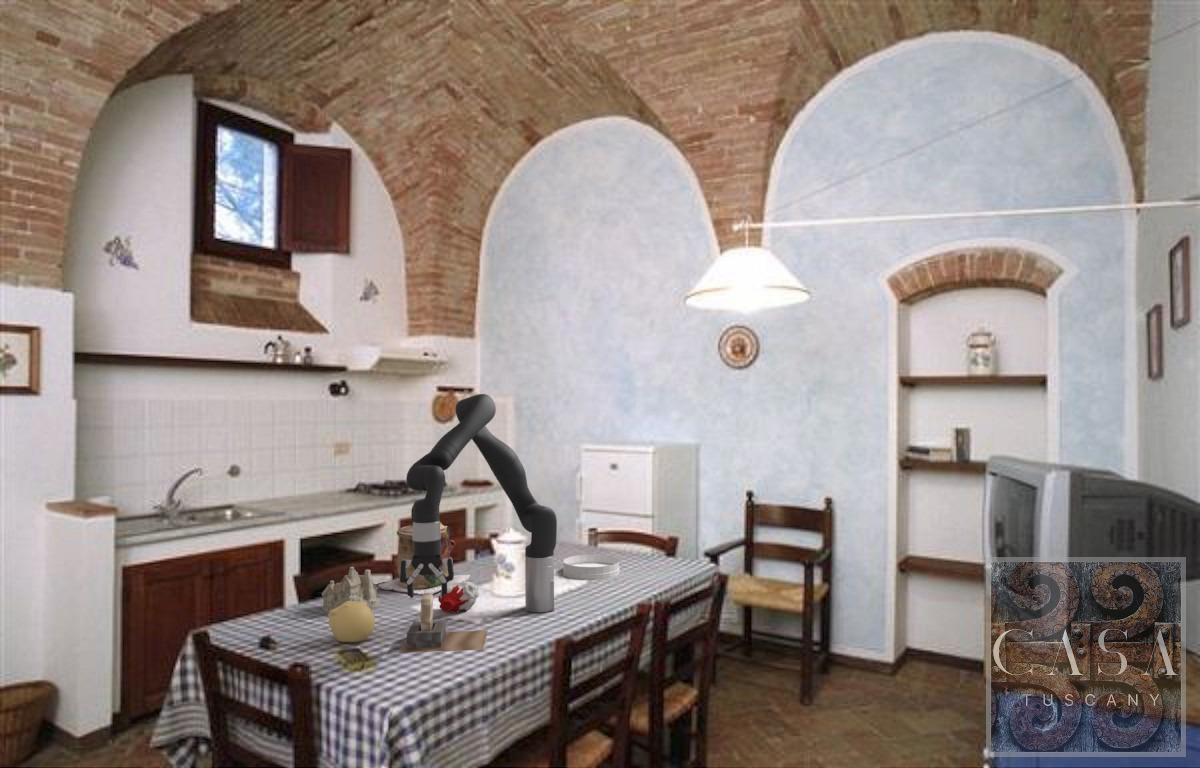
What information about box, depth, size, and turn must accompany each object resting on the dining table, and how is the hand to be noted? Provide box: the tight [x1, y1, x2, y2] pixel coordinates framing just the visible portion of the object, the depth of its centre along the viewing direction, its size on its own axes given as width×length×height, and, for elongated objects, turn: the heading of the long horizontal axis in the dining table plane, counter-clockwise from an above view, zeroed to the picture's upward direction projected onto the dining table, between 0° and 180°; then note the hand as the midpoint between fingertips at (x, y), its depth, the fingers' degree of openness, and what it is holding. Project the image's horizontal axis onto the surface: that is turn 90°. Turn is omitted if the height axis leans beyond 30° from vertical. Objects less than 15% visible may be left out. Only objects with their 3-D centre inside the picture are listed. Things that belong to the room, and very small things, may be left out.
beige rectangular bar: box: [420, 594, 434, 631], centre depth 204 cm, size 2×5×12 cm, turn 5°
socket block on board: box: [398, 620, 488, 653], centre depth 203 cm, size 22×16×6 cm
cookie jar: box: [377, 505, 470, 596], centre depth 270 cm, size 25×25×32 cm
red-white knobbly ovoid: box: [437, 581, 480, 613], centre depth 237 cm, size 9×11×15 cm
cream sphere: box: [327, 601, 376, 643], centre depth 210 cm, size 12×12×11 cm
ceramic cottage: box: [321, 566, 382, 614], centre depth 242 cm, size 16×16×15 cm
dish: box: [562, 554, 621, 581], centre depth 287 cm, size 22×22×5 cm
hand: (427, 596), depth 203 cm, fingers open, 8 cm apart
